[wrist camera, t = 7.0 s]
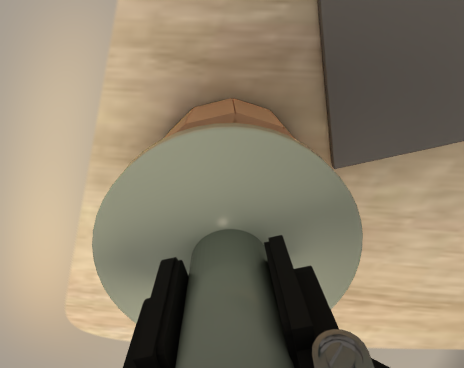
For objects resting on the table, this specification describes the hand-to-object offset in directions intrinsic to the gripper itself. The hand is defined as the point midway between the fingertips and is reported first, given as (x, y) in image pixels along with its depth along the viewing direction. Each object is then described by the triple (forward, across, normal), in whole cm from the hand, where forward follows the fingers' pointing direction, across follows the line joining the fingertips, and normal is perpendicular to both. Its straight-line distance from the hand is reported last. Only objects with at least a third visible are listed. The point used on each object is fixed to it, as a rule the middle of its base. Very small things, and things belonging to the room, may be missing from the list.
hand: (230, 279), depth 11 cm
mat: (+11, -13, -4) cm, 18 cm away
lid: (+2, 0, 0) cm, 2 cm away
